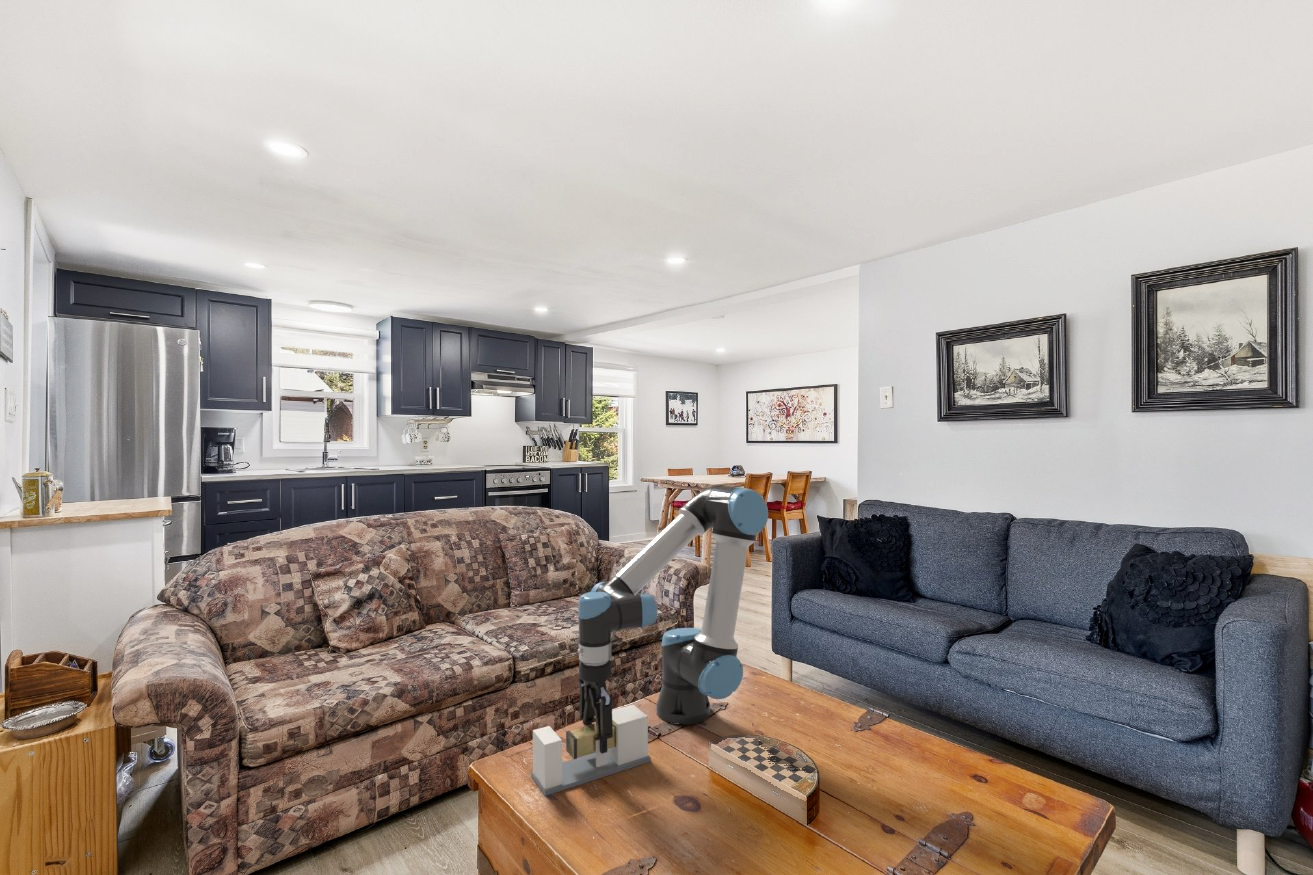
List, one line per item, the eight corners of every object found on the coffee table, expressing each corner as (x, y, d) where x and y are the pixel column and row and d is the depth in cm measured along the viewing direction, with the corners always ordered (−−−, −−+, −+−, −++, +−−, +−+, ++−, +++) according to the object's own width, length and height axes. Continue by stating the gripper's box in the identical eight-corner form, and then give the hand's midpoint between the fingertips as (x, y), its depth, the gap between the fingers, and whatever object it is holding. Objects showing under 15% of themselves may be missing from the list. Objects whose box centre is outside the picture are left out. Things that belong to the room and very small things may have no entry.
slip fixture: (632, 744, 154) (632, 702, 154) (650, 761, 146) (650, 716, 146) (531, 775, 140) (530, 729, 140) (545, 795, 132) (544, 746, 132)
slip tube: (634, 730, 151) (634, 712, 151) (643, 738, 148) (643, 719, 147) (566, 750, 142) (566, 731, 142) (573, 759, 138) (573, 739, 138)
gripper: (564, 650, 149) (565, 745, 150) (597, 677, 133) (598, 782, 134) (592, 645, 153) (593, 737, 154) (627, 670, 137) (628, 772, 137)
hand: (595, 758), depth 144 cm, fingers open, 6 cm apart
